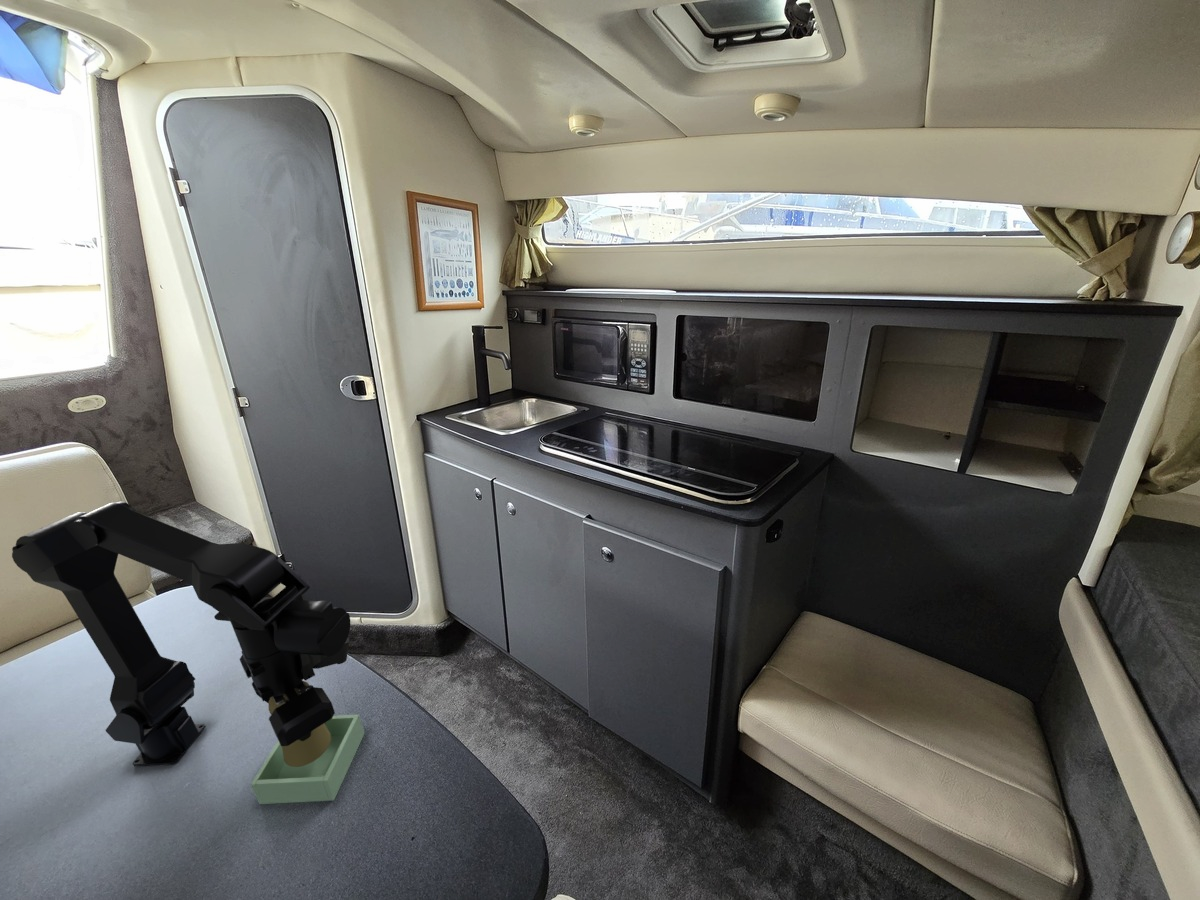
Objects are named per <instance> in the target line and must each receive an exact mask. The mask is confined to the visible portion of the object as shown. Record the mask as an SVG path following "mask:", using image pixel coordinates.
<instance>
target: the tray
mask: <svg viewBox="0 0 1200 900" xmlns="http://www.w3.org/2000/svg"><path fill="white" fill-rule="evenodd" d="M324 724H325V725H326V727H327V729H328V730H329V732H330V734H331V741H330V745H329V746H328V748H327V750H326V751H325V752H324V753H323V754H322V755H321V756H320V757H319V758H318V759H316V760H315V761H313V762H311V763H309V764H307V765H304V766H300V767H291V766H289V765H287V764H286V763H285V761H284V757H283V751H282V746H281V745H280V743H279V741H278V740H277V742H276V743H275V744H274V746H273V747H272V749H271V751H270V753H269V754H268V755H267V757H266V759H265V761H264V762H263V764H262V766H261V767H260V768H259V770H258V772H257V773H256V775H255V776H254V778H253V780H252V781H251V783H250V786H251V788H252V791H253V793H254V795H255V796H256V799H257V801H258V804H259V805H272V804H287V803H288V804H289V803H290V804H291V803H293V804H294V803H310V802H312V803H313V802H329V801H333V802H334V801H335V800H336V797H337V794H338V793H339V791H340V788H341V786H342V784H343V781H344V779H345V777H346V776H347V773H348V771H349V769H350V766H351V764H352V762H353V760H354V758H355V755H356V754H357V751H358V749H359V746H360V744H361V742H362V741H363V738H364V736H365V730H364V727H363V724H362V720H361V718H360V714H341V715H339V714H338V715H334V716H333V717H332V719H330V720H329V721H327V722H325V723H324Z"/></svg>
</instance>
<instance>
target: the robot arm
mask: <svg viewBox="0 0 1200 900" xmlns="http://www.w3.org/2000/svg"><path fill="white" fill-rule="evenodd" d="M11 551H12V552H11V558H12V560H13V562H14V564H15V565H16V566H17V567H18V568H19V569H20V570H21V571H23V572H25V573H26V574H27V575H28V576H29V577H30V579H31V580H32V581H33V582H35V583H37V584H40V585H43V586H45V587H48V588H52V589H55V590H57V591H60V592H62V594H63V595H64V597H65V598H66V600H67V601H68V603H69V605H70V607H71V608H72V610H73V611H74V613H75V614H76V616H77V618H78V619H79V621H80V622H81V624H82V625H83V627H84V629H85V630H86V632H87V634H88V635H89V637H90V639H91V640H92V642H93V643H94V645H95V646H96V649H97V650H98V651H99V653H100V655H101V656H102V658H103V659H104V661H105V663H106V665H107V666H108V668H109V669H110V671H111V672H112V674H113V677H114V679H113V682H112V687H111V691H110V696H109V701H110V704H111V706H112V709H113V710H114V713H115V717H114V718H113V719H112V720H111V722H110V723H109V725H108V726H107V727H106V728H105V732H106V734H107V735H109V737H110V738H111V739H112V740H113V741H115V742H121V743H128V744H135V746H136V747H137V749H138V751H139V753H140V754H139V755H138V756H137V757H136V758H135V759H134V760H133V762H132V766H133V767H135V768H136V767H137V768H138V767H155V766H173V765H176V764H177V763H178V762H180V760H181V759H182V757H183V756H184V755H185V754H186V752H187V751H188V750H189V749H190V748H191V746H192V745H193V744H194V742H195V741H196V740H197V739H198V738H199V736H200V735H201V734H202V732H203V731H204V730H205V728H206V725H205V723H195V722H194V719H193V717H192V716H191V715H189V713H188V711H187V709H186V706H184V705H185V704H186V703H187V702H188V701H189V700H190V699H192V698H193V697H194V696H195V687H196V684H195V681H196V678H195V676H194V674H193V673H192V672H191V671H190V670H189V667H188V665H187V663H186V662H184V661H182V660H181V661H180V660H179V661H177V660H174V659H170V658H167V657H164V656H162V655H160V653H159V651H158V648H157V647H156V646H155V644H154V642H153V641H152V639H151V637H150V635H149V633H148V632H147V630H146V628H145V626H144V624H143V623H142V621H141V619H140V618H139V616H138V614H137V612H136V610H135V608H134V606H133V605H132V603H131V601H130V599H129V598H128V596H127V595H126V592H125V591H124V589H123V587H122V586H121V584H120V582H119V581H118V578H117V577H116V575H115V571H116V566H117V561H118V557H119V555H121V556H123V557H125V558H128V559H129V560H132V561H135V562H137V563H139V564H142V565H145V566H147V567H150V568H152V569H155V570H157V571H159V572H161V573H165V574H167V575H169V576H172V577H175V578H177V579H179V580H182V581H184V582H186V583H187V584H189V585H191V586H192V587H193V590H194V592H195V595H196V596H197V599H198V600H199V601H201V602H203V603H205V605H208V606H211V607H212V608H213V609H214V610H216V611H217V613H216V614H215V615H214V616H213V617H214V619H215V620H216V621H223V622H230V624H231V626H232V629H233V631H234V634H235V637H236V640H237V642H238V644H239V647H240V650H241V654H242V655H241V656H240V658H239V661H240V664H241V667H242V669H243V671H244V673H245V675H246V677H247V679H250V678H251V679H252V682H251V686H252V688H253V691H254V692H255V695H257V696H258V697H259V698H260V699H261V700H262V702H265V703H267V705H269V700H270V697H273V699H274V701H275V703H276V704H277V705H280V704H281V703H283V702H284V704H283V705H281V706H279V707H277V708H276V709H275V710H274V711H273V713H272V715H271V714H270V716H269V718H268V721H269V723H270V725H271V728H272V730H273V732H274V734H275V736H276V739H277V742H278V741H279V743H280V745H281V746H289V745H290V744H292V743H293V742H295V741H297V740H300V741H305V740H306V739H308V738H309V737H310V736H311V731H313V730H314V729H316V728H317V727H319V726H321V725H322V724H324V723H325V722H327V721H329V720H330V719H332V717H333V716H335V714H336V712H335V708H334V706H333V702H332V701H331V699H330V698H329V696H328V694H327V693H326V691H325V690H324V688H322V687H315V686H313V685H312V684H309V685H308V686H305V684H304V683H303V681H309V680H310V679H311V678H313V677H315V676H316V673H315V670H319V669H322V668H326V667H330V666H333V665H342V664H344V663H345V662H347V659H348V653H349V647H350V641H351V640H350V637H349V634H350V630H351V615H350V613H349V612H347V610H346V609H344V608H343V607H339V606H338V607H336V606H333V603H332V602H331V600H304V597H303V595H304V594H305V593H307V591H309V590H310V589H311V587H310V585H309V584H308V583H307V582H306V581H305V580H304V579H303V578H302V575H301V574H300V573H299V572H297V571H296V570H294V569H293V568H291V567H290V566H289V565H288V564H287V562H285V561H284V560H282V559H281V558H280V557H279V556H278V555H277V554H276V553H275V552H273V551H271V550H269V549H266V548H264V547H259V546H257V545H256V546H255V545H253V544H252V545H251V544H247V543H243V542H233V543H232V542H231V543H216V542H213V541H211V540H208V539H204V538H203V537H200V536H198V535H196V534H193V533H191V532H188V531H185V530H183V529H180V528H177V527H176V526H173V525H171V524H167V523H165V522H164V521H161V520H158V519H156V518H153V517H150V516H149V515H145V514H143V513H141V512H139V511H137V509H135V508H134V507H133V506H132V505H131V504H130V503H128V502H125V501H116V502H109V503H107V504H105V505H102V506H100V507H98V508H96V509H94V510H91V511H89V512H83V511H78V512H74V513H72V514H70V515H67V516H64V517H63V518H61V519H58V520H56V521H53V522H52V523H48V524H47V525H45V526H42V527H40V528H38V529H36V530H33V531H31V532H28V533H27V534H24V535H22V536H20V537H19V538H17V539H16V542H15V545H14V546H12V548H11ZM280 585H283V586H284V588H282V589H281V590H280V591H279V592H278V593H277V594H275V595H274V596H273V597H268V595H269V594H270V593H271V592H272V591H274V590H275V589H276V588H278V587H279V586H280ZM266 596H267V597H266ZM294 688H296V690H297V691H298V693H299V694H297V693H296V691H295V689H294ZM300 692H301V694H300ZM283 694H285V695H286V697H287V699H288V700H285V698H284V696H283Z"/></svg>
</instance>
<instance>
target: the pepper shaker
mask: <svg viewBox="0 0 1200 900" xmlns="http://www.w3.org/2000/svg"><path fill="white" fill-rule="evenodd" d="M302 681H303V683H304V684H305V686H308V685H310V683H308V682H307V681H306V680H302ZM294 689H295V691H296V693H297V694H299V693H298V691H297V690H296V688H294ZM300 694H301V692H300ZM283 696H284V698H285V700H288V699H287V697H286V695H285V694H283ZM283 704H284V702H283V703H281V704H280V705H277V704H276V703H275V701H274V699H273V697H270V700H269V704H268V712H269V714H270V716H271V715H272V713H273V711H274V710H275V709H276V708H277V707H279V706H281V705H283ZM330 741H331V734H330V732H329V730H328V729H327V727H326V725H325V724H322V725H321V726H319V727H317V728H316V729H314V730H313V731H311V736H310V737H309V738H308V739H306V740H305V741H300V740H297V741H295V742H293V743H292V744H290V745H289V746H282V751H283V757H284V761H285V763H286V764H287V765H289V766H291V767H300V766H304V765H307V764H309V763H311V762H313V761H315V760H316V759H318V758H319V757H320V756H321V755H322V754H323V753H324V752H325V751H326V750H327V748H328V746H329V745H330Z"/></svg>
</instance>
